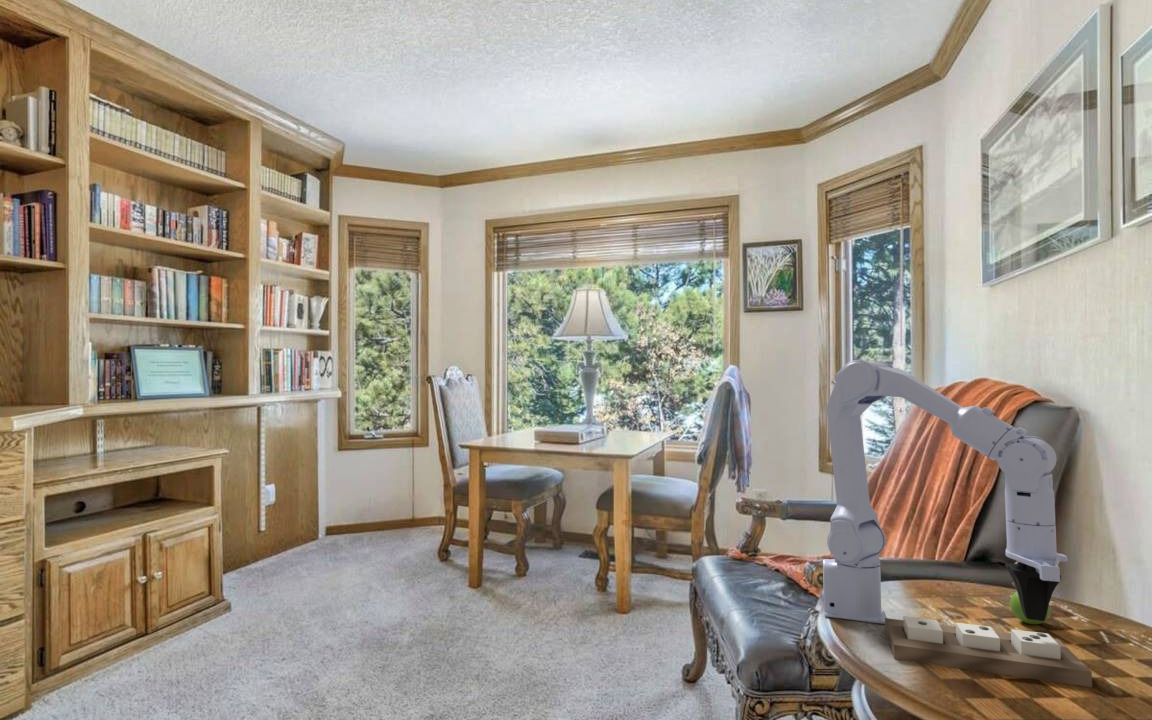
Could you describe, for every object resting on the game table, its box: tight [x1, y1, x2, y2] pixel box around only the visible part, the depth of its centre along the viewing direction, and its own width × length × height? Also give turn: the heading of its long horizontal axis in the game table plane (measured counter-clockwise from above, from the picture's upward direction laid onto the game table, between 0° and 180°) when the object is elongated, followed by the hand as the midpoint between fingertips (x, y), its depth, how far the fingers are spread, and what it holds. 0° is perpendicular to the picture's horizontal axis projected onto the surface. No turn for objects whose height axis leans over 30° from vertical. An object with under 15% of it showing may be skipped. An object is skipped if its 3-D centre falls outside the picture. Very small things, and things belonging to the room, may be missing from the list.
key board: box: [884, 617, 1093, 688], centre depth 88 cm, size 23×11×2 cm, turn 69°
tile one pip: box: [902, 616, 943, 644], centre depth 90 cm, size 4×4×3 cm
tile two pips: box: [955, 622, 1000, 651], centre depth 88 cm, size 4×4×3 cm
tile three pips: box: [1010, 628, 1061, 659], centre depth 85 cm, size 4×4×3 cm
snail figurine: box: [1009, 561, 1051, 625], centre depth 100 cm, size 5×6×12 cm
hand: (1034, 618), depth 85 cm, fingers closed
